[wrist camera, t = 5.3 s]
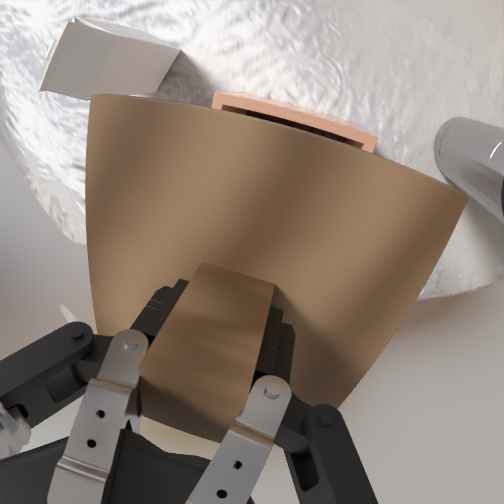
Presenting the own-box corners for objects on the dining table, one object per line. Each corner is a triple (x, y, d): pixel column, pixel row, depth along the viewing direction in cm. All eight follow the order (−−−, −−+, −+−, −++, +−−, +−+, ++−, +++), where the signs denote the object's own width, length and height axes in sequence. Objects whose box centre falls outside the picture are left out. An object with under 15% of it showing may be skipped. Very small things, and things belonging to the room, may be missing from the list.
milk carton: (181, 50, 34) (92, 31, 17) (155, 93, 37) (59, 105, 21) (143, 30, 32) (46, 13, 16) (120, 72, 36) (20, 79, 20)
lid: (458, 190, 10) (556, 286, 4) (327, 409, 18) (319, 504, 12) (104, 93, 11) (-28, 121, 5) (107, 339, 19) (55, 415, 13)
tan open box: (358, 124, 35) (377, 137, 24) (323, 228, 42) (325, 275, 32) (242, 92, 35) (214, 91, 25) (219, 198, 43) (188, 235, 33)
